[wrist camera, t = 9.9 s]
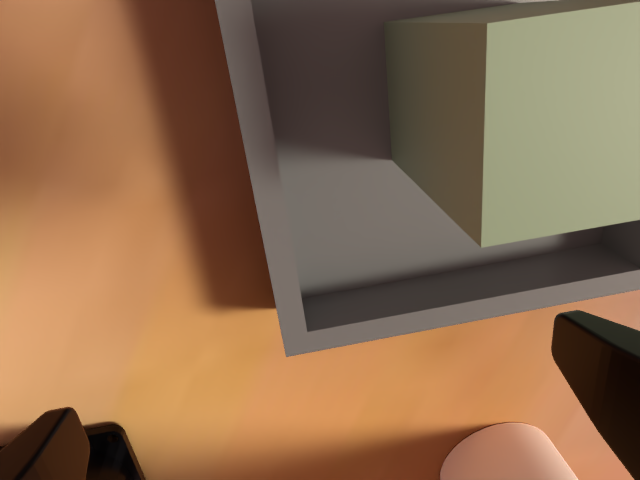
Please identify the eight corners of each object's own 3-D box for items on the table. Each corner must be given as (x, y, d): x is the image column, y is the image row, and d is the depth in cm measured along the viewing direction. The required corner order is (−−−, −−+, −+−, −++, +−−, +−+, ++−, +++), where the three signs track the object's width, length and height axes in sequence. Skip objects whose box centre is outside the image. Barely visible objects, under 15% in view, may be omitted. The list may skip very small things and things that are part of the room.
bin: (604, 249, 23) (659, 285, 20) (280, 309, 22) (286, 356, 19) (678, -241, 15) (789, -309, 12) (184, -187, 14) (165, -245, 11)
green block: (512, 140, 19) (672, 214, 12) (392, 160, 19) (481, 247, 12) (520, 2, 17) (721, -11, 10) (383, 22, 17) (487, 23, 9)
